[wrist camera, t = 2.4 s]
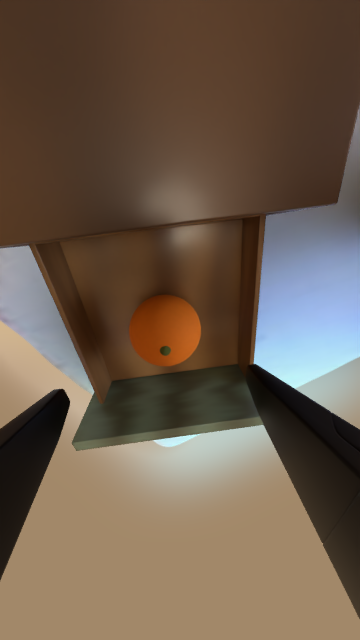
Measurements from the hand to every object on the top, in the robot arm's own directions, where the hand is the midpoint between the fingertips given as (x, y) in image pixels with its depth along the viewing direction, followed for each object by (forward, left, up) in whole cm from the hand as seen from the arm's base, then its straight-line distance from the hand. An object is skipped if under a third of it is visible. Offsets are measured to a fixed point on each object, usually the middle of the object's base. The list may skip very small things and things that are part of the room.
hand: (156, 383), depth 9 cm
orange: (0, +1, -10) cm, 10 cm away
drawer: (0, +2, -11) cm, 11 cm away
